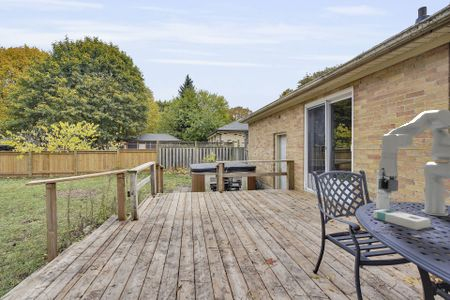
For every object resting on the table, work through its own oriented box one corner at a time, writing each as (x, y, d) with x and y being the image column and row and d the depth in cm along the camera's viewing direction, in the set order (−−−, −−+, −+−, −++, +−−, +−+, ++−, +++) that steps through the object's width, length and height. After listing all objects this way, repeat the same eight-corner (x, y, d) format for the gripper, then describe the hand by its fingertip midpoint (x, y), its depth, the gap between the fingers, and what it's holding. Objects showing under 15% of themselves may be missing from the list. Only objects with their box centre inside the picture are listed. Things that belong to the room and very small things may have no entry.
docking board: (373, 217, 141) (373, 210, 141) (386, 215, 146) (386, 208, 146) (416, 229, 121) (416, 221, 121) (430, 226, 126) (430, 218, 126)
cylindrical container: (391, 211, 156) (392, 171, 155) (378, 210, 157) (379, 171, 157) (386, 208, 163) (387, 170, 162) (374, 207, 164) (375, 170, 164)
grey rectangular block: (384, 196, 143) (385, 178, 143) (397, 198, 137) (398, 180, 137) (378, 197, 141) (378, 178, 141) (390, 199, 134) (391, 180, 134)
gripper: (391, 156, 146) (390, 186, 146) (372, 155, 138) (371, 188, 139) (405, 156, 139) (404, 188, 139) (386, 156, 132) (385, 190, 132)
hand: (388, 188), depth 139 cm, fingers closed on grey rectangular block, 6 cm apart
